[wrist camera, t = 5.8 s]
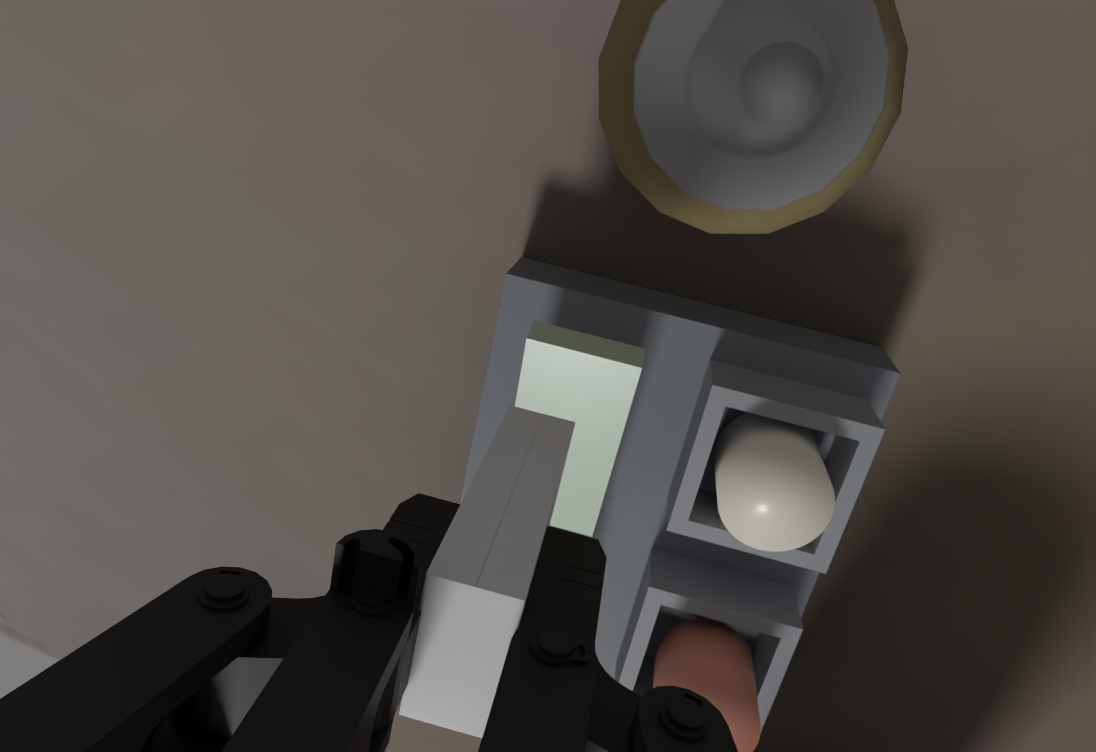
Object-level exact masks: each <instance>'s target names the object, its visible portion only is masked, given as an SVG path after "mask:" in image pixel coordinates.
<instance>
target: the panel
mask: <svg viewBox="0 0 1096 752" xmlns="http://www.w3.org/2000/svg"><path fill="white" fill-rule="evenodd" d="M534 320H535V321H539V322H543V323H547V324H551V325H555V326H559V327H563V328H566V329H570V330H574V331H578V332H582V333H586V334H590V335H594V336H598V337H602V338H605V339H609V340H613V341H617V342H621V343H625V344H629V345H633V346H637V347H640V348H644V349H646V352H645V357H644V361H643V366H642V370H641V374H640V377H639V380H638V384H637V387H636V390H635V394H634V397H633V401H632V404H631V407H630V411H629V414H628V417H627V421H626V424H625V428H624V431H623V434H622V438H621V441H620V444H619V448H618V451H617V454H616V458H615V461H614V465H613V468H612V471H611V475H610V478H609V481H608V485H607V488H606V492H605V495H604V498H603V502H602V505H601V508H600V512H599V515H598V519H597V522H596V525H595V529H594V532H593V535H592V538H595V539H598V540H599V542H600V544H601V546H602V548H603V551H604V553H605V555H606V557H607V560H606V567H605V574H604V582H603V589H602V596H601V604H600V611H599V618H598V625H597V633H596V640H595V652H596V655H597V657H598V660H599V662H600V664H601V665H602V667H603V668H604V669H605V671H606V672H607V673H608V674H609V675H610V676H611V677H612V678H613V679H614V680H616V681H617V682H619V683H620V684H622V685H623V686H625V687H626V688H628V689H630V690H631V691H633V692H635V693H637V694H639V695H641V696H643V695H644V693H645V692H647V691H649V690H651V689H653V678H654V657H655V649H656V646H657V644H658V641H659V640H660V638H661V637H662V636H663V634H664V633H665V632H667V631H668V630H669V629H670V628H672V627H673V626H675V625H677V624H679V623H682V622H685V621H690V620H712V621H716V622H719V623H722V624H725V625H727V626H729V627H730V628H732V629H734V630H735V631H736V632H738V633H739V634H740V635H741V636H742V637H743V638H744V640H745V641H746V642H747V644H748V646H749V648H750V651H751V654H752V660H753V668H754V676H755V684H756V692H757V700H758V709H759V717H760V725H761V731H762V729H763V726H764V724H765V721H766V719H767V716H768V714H769V711H770V709H771V707H772V704H773V702H774V699H775V697H776V694H777V692H778V690H779V687H780V685H781V682H782V680H783V677H784V675H785V673H786V670H787V668H788V665H789V663H790V660H791V658H792V655H793V653H794V651H795V648H796V646H797V643H798V641H799V638H800V636H801V634H802V631H803V627H802V622H801V617H802V615H803V612H804V610H805V607H806V605H807V602H808V600H809V597H810V595H811V592H812V590H813V588H814V585H815V583H816V580H817V578H818V575H819V573H820V572H821V573H824V574H826V573H827V570H828V568H829V565H830V563H831V561H832V558H833V556H834V553H835V551H836V548H837V546H838V543H839V541H840V539H841V536H842V534H843V531H844V529H845V526H846V524H847V522H848V519H849V517H850V514H851V512H852V509H853V507H854V505H855V502H856V500H857V497H858V495H859V492H860V490H861V487H862V485H863V483H864V480H865V478H866V475H867V473H868V470H869V468H870V466H871V463H872V461H873V458H874V456H875V453H876V451H877V449H878V446H879V444H880V441H881V439H882V436H883V434H884V431H885V428H884V426H883V425H882V423H881V420H882V418H883V416H884V413H885V411H886V408H887V406H888V403H889V401H890V398H891V396H892V393H893V391H894V388H895V386H896V384H897V381H898V379H899V376H900V374H901V373H900V372H899V371H898V369H897V368H896V367H895V365H894V364H893V363H892V361H891V360H890V359H889V357H888V356H887V355H886V353H885V352H884V351H883V350H882V348H881V347H879V346H875V345H871V344H867V343H863V342H859V341H855V340H851V339H847V338H843V337H839V336H835V335H831V334H827V333H823V332H819V331H815V330H811V329H807V328H803V327H799V326H795V325H791V324H787V323H783V322H779V321H775V320H772V319H768V318H764V317H760V316H756V315H752V314H748V313H744V312H740V311H736V310H732V309H728V308H724V307H720V306H716V305H712V304H708V303H704V302H700V301H696V300H692V299H688V298H684V297H680V296H676V295H672V294H668V293H664V292H660V291H656V290H652V289H648V288H644V287H640V286H636V285H632V284H628V283H624V282H620V281H616V280H612V279H608V278H604V277H600V276H596V275H593V274H589V273H585V272H581V271H577V270H573V269H569V268H565V267H561V266H557V265H553V264H549V263H545V262H541V261H537V260H533V259H529V258H525V257H521V258H520V259H519V260H518V261H517V263H516V264H515V265H514V266H513V267H512V268H511V269H510V270H509V271H508V272H507V273H506V277H505V282H504V287H503V292H502V297H501V302H500V307H499V312H498V317H497V322H496V327H495V332H494V337H493V342H492V347H491V352H490V357H489V362H488V366H487V371H486V376H485V381H484V386H483V391H482V396H481V401H480V406H479V411H478V416H477V421H476V426H475V431H474V436H473V441H472V446H471V451H470V456H469V461H468V466H467V471H466V475H465V480H464V485H463V490H462V495H461V500H460V504H461V502H462V500H463V498H464V496H465V494H466V492H467V490H468V488H469V486H470V484H471V482H472V480H473V478H474V476H475V474H476V472H477V470H478V468H479V466H480V464H481V462H482V460H483V458H484V456H485V454H486V452H487V450H488V448H489V446H490V444H491V442H492V440H493V438H494V436H495V434H496V432H497V430H498V428H499V426H500V424H501V422H502V420H503V418H504V416H505V414H506V412H507V410H508V408H509V406H510V405H511V406H515V402H516V396H517V390H518V385H519V379H520V373H521V367H522V361H523V356H524V350H525V344H526V338H527V336H528V333H529V331H530V329H531V326H532V324H533V321H534ZM748 412H749V413H753V414H757V415H761V416H765V417H769V418H772V419H776V420H780V421H784V422H788V423H792V424H796V425H799V426H803V427H807V428H809V430H810V431H811V433H812V434H813V436H814V438H815V441H816V443H817V446H818V449H819V451H820V454H821V457H822V459H823V462H824V465H825V467H826V470H827V473H828V475H829V478H830V481H831V483H832V486H833V490H834V495H835V507H834V512H833V515H832V518H831V520H830V522H829V524H828V525H827V527H826V528H825V530H824V531H823V532H822V533H821V534H820V535H819V536H818V537H817V538H815V539H814V540H813V541H811V542H810V543H808V544H806V545H804V546H802V547H799V548H796V549H793V550H789V551H782V552H770V551H763V550H758V549H755V548H752V547H750V546H748V545H745V544H744V543H742V542H740V541H739V540H738V539H736V538H735V537H734V536H733V535H732V534H731V533H730V532H729V531H728V530H727V528H726V527H725V526H724V524H723V522H722V520H721V517H720V515H719V511H718V504H717V492H716V480H715V469H714V448H715V444H716V441H717V439H718V437H719V435H720V433H721V432H722V430H723V429H724V428H725V427H726V426H727V425H728V424H729V423H730V422H731V421H732V420H734V419H735V418H737V417H739V416H740V415H743V414H745V413H748Z"/></svg>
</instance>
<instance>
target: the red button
mask: <svg viewBox="0 0 1096 752" xmlns="http://www.w3.org/2000/svg"><path fill="white" fill-rule="evenodd" d="M672 685H673V686H677V687H681V688H685V689H689V690H692V691H693V692H695V693H697V694H699V695H701V696H703V697H705V698H706V699H707V700H709V701H710V702H711V703H712V704H713V705H714V706H715V707H716V708H717V709H718V710H720V712H721V714H722V715H723V717H724V719H725V720H726V722H727V724H728V726H729V729H730V731H731V734H732V737H733V739H734V742H735V745H736V747H737V750H738V752H753V751H754V749H755V748H756V746H757V744H758V742H759V739H760V734H761V725H760V717H759V709H758V700H757V692H756V684H755V676H754V668H753V660H752V654H751V651H750V648H749V646H748V644H747V642H746V641H745V640H744V638H743V637H742V636H741V635H740V634H739V633H738V632H736V631H735V630H734V629H732V628H730V627H729V626H727V625H725V624H722V623H719V622H716V621H712V620H690V621H685V622H682V623H679V624H677V625H675V626H673V627H672V628H670V629H669V630H668V631H667V632H665V633H664V634H663V636H662V637H661V638H660V640H659V641H658V644H657V646H656V649H655V657H654V678H653V688H655V687H657V686H672Z"/></svg>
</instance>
